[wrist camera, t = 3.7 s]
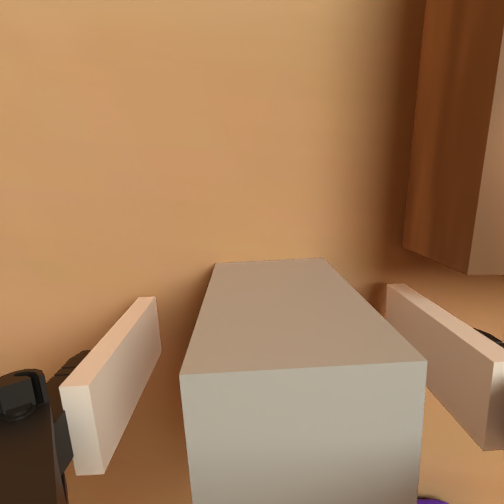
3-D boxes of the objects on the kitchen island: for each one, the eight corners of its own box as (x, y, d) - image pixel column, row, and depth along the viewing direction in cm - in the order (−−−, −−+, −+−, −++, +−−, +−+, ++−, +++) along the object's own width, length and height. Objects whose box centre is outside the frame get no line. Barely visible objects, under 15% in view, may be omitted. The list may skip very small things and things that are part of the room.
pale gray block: (222, 360, 16) (199, 568, 8) (215, 263, 15) (178, 374, 7) (322, 354, 17) (412, 553, 8) (322, 257, 15) (427, 361, 7)
